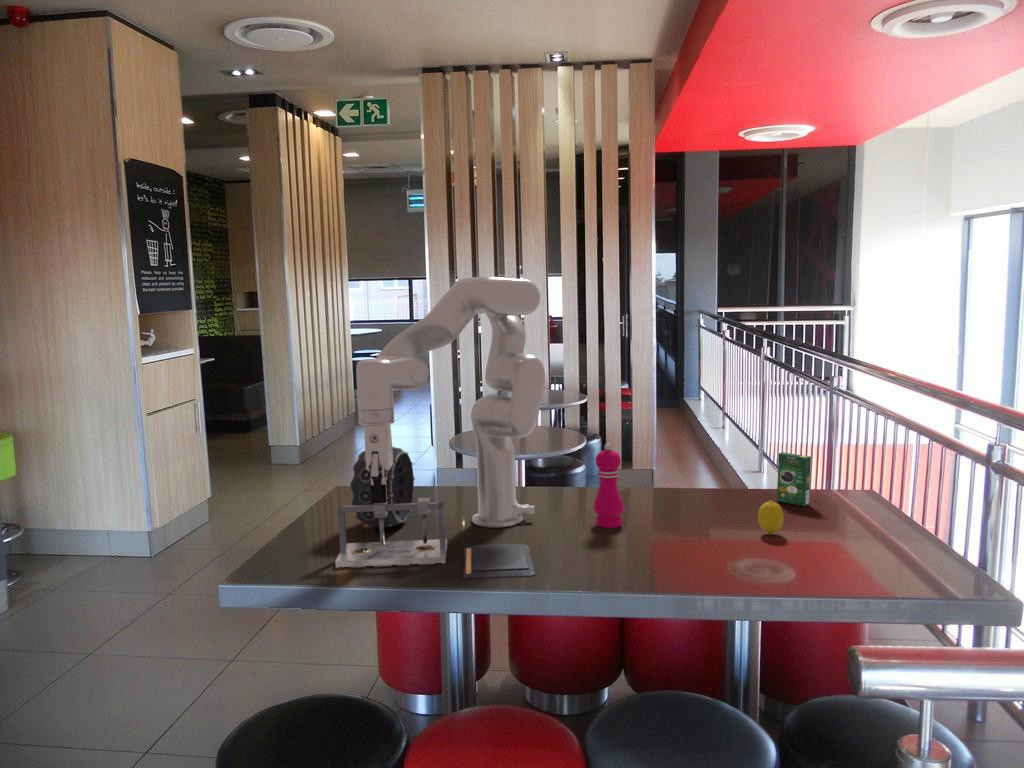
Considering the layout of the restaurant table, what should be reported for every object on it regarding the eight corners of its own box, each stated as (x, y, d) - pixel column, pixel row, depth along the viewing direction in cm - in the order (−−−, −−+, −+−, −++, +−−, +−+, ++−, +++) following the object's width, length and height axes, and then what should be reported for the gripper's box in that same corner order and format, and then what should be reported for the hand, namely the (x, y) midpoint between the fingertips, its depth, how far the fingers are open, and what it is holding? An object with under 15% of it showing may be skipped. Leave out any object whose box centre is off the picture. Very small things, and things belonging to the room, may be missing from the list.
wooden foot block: (389, 542, 169) (386, 476, 167) (387, 547, 165) (384, 480, 163) (377, 543, 168) (374, 476, 167) (375, 548, 165) (372, 480, 163)
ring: (418, 515, 200) (415, 439, 197) (392, 538, 180) (388, 455, 178) (379, 514, 201) (375, 439, 199) (349, 537, 182) (345, 454, 180)
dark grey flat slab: (535, 570, 152) (459, 573, 152) (535, 580, 152) (459, 582, 152) (531, 539, 172) (463, 541, 172) (531, 548, 172) (463, 550, 172)
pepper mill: (590, 527, 184) (589, 445, 182) (598, 519, 191) (597, 440, 189) (619, 530, 182) (618, 447, 180) (627, 521, 188) (626, 441, 186)
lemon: (787, 533, 175) (787, 499, 174) (776, 539, 171) (777, 504, 170) (764, 529, 179) (764, 496, 178) (753, 535, 175) (753, 501, 174)
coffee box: (811, 504, 199) (811, 455, 197) (806, 507, 197) (806, 457, 195) (781, 499, 205) (782, 451, 203) (776, 501, 203) (776, 453, 201)
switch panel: (447, 545, 174) (445, 492, 172) (445, 563, 162) (443, 506, 160) (345, 549, 172) (342, 496, 171) (335, 568, 161) (332, 510, 159)
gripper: (390, 421, 156) (394, 509, 158) (397, 410, 172) (401, 490, 174) (352, 423, 155) (357, 511, 157) (364, 411, 172) (367, 491, 174)
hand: (380, 499), depth 166 cm, fingers closed on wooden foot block, 3 cm apart
